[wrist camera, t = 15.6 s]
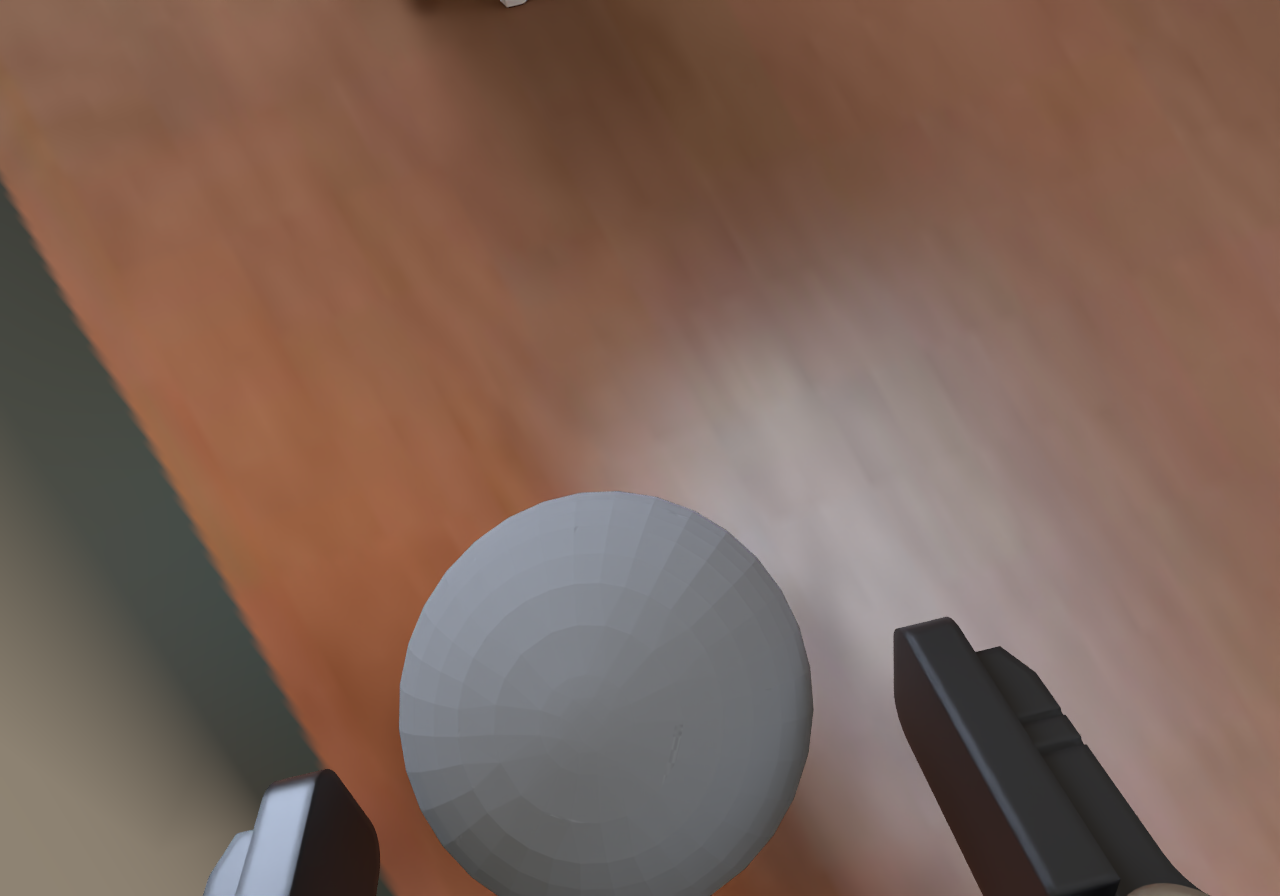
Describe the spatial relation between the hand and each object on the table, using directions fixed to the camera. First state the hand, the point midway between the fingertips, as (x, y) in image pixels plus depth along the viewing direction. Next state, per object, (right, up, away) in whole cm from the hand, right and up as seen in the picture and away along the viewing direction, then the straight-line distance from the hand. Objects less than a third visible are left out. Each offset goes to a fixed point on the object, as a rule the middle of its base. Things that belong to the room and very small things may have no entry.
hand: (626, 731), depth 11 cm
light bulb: (0, -1, +8) cm, 8 cm away
